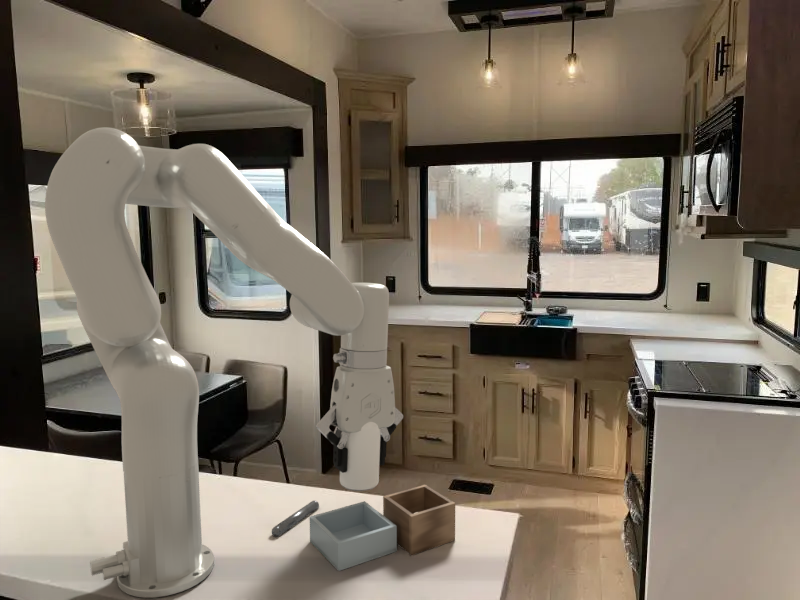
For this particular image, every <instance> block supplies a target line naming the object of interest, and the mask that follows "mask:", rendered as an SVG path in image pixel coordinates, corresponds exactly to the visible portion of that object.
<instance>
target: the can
mask: <svg viewBox="0 0 800 600" xmlns="http://www.w3.org/2000/svg"><path fill="white" fill-rule="evenodd" d="M369 418H372V417H369ZM380 434H381V429H379V428H378V425H377V424H376V423H374V422H368V423H366V424H365V425H364V426H363V427H362V428H361V431H359V432H355V433H349V437H348V439H347V442H346V444H345V448H347V449H348V460H347V471H346V472H344V473H342V472H341V471H339V484H340V485H341V487H342V488H344V489H346V490H348V491H352V492H364V491H365V492H366V491H371V490H373V489H374V488H376V487H377V485H378V484H379V481H380V479H379V478H380V476H379V475H380V465H379V461H380Z"/></svg>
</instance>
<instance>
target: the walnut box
mask: <svg viewBox="0 0 800 600" xmlns="http://www.w3.org/2000/svg"><path fill="white" fill-rule="evenodd" d="M382 500H383V501H382V502H383V503H382V509H383V511H382V512H383V513H382V515H383V516H385V517H386V518H387V519H388V520H390V521H391V522H392V523H394V524H395V525H396V526H397V545H398V546H399V547H400V548H402V549H403V550H404V551H405V552H406V553H408V555H410V556H415V555H417V554H421V553H423V552H427V551H429V550H432V549H434V548H437V547H441V546H442V545H443V546H444V545H446V544H448V543H452V542H454V541H456V502H455V501H453V500H451V499H449V497H448V498H447V497H446V496H445V495H443V494H441V493H440V492H438V491H436V490H435V489H433V488H432V487H430V486H428V485H427V484H422V485H419V486H415V487H412V488H409V489H408V488H407V489H405V490H401V491H397V492H393V493H389V494H386V495H383V496H382ZM416 512H418V513H416Z"/></svg>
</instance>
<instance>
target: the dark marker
mask: <svg viewBox="0 0 800 600" xmlns="http://www.w3.org/2000/svg"><path fill="white" fill-rule="evenodd" d="M319 507H320V503H319V502H318V501H317V500H312V501H310V502H308V503H307V504H306V505H304V506H303V507H301V508H300V509H298V510H297V511H296V512H294V513H293V514H291V515H289V516H288V517H287V518H285V519H284V520H282V521H281V522H280V523H278V524H276V525H274V526H273V528H271V536H273V537H274V538H276V537H280V536H282V535H283V534H284V533H286V532H287V531H288V530H290V529H291V528H293V527H294V526H296V525H298V523H299V522H301V521H303V520H304V519H306V518H307V517H308V516H310V515H311V514H313V513H314V512H316V511H317V510H318V509H319Z"/></svg>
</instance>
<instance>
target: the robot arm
mask: <svg viewBox="0 0 800 600" xmlns="http://www.w3.org/2000/svg"><path fill="white" fill-rule="evenodd" d="M44 200H45V201H44V210H45V211H44V212H45V213H44V214H45V220H46V225H47V228H48V232H49V235H50V239H51V241H52V243H53V245H54V248H55V250H56V253H57V256H58V258H59V259H60V262H61V264H62V267H63V269H64V272H65V275H66V277H67V279H68V281H69V283H70V286H71V288H72V290H73V292H74V294H75V297H76V312H77V315H78V318H79V320H80V322H81V325H82V326H83V328H84V331H85V333H86V335H87V337H88V338H89V341H90V343H91V345H92V348H93V350H94V352H95V354H96V356H97V358H98V360H99V362H100V364H101V366H102V368H103V370H104V371H105V374H106V376H107V378H108V379H109V380H108V381H110V384H111V386H112V387H113V389H114V391H115V392H116V395H117V396H118V398H119V402H120V409H121V410H120V412H121V458H122V472H123V483H124V485H123V486H124V500H125V501H124V502H125V503H124V504H125V518H126V519H125V520H126V532H127V533H126V535H127V536H126V537H127V541H124V542H123V543H122V549H121V550H118V551H115V554H113V555H109V556H104V557H100V558H96V559H91V560H90V561H89V567H90V574H91V577H93V576H97V575H100V574H102V579H103V581H106V580H109V579H113V578H115V577H116V581H117V586H118V588H119V589H120V590H121V591H122V592H123V593H125V594H127V595H129V596H134V597H136V598H149V599H150V598H162V597H166V596H171V595H172V596H173V595H175V594H179V593H181V592H184V591H187V590H189V589H191V588H193V587H194V586H196V585H199V583H202V582H203V580H205V579H207V577H208V576H209V575H210V574H211V573H212V571H213V570H214V566H215V555H214V552H213V551H212V549H211V548H210V547H209V546H207V545H205V544H203V538H202V517H201V516H202V515H201V492H200V491H201V490H200V473H199V472H200V471H199V456H198V455H199V454H198V451H199V450H198V415H199V403H200V386H199V381H198V378H197V374H196V372H195V370H194V368H193V366H192V364H190V362H189V361H188V360H187V359H186V358H185V357H184V356H183V355H182V354H180V353H179V352H177V351H176V350H174V349H173V348H172V346H171V344H170V342H169V340H168V337H167V335H166V332H165V330H164V329H163V326H162V324H161V319H162V305H161V302H160V299H159V296H158V293H156V290H155V289H154V287H153V285H152V283H151V280H150V279H149V277H148V275H147V272H146V270H145V268H144V266H143V263H142V261H141V260H140V257H139V255H138V253H137V251H136V248H135V246H134V242H133V239H132V237H131V235H130V232H129V228H128V226H127V223H126V217H125V214H126V212H125V209H126V205H135V206H145V207H154V208H156V207H157V208H170V209H171V208H172V209H173V208H174V209H189V210H190V212H192V213H193V214H194V216H195V217H197V218H198V220H199V221H201V223H202V224H203V225H205V227H207V229H209V231H210V232H211V233H212V234H214V235H215V237H216V238H218V239H219V241H220V242H221V243H222V244H223V245H224V246H225V247H226V248H227V250H229V251H230V253H232V255H233V256H234V257H236V258H237V259H238V260H239V261H240V262H242V263H243V264H244V265H245V266H247V267H248V268H250V269H252V270H253V271H255V272H257V273H260V274H261V275H263V276H265V277H267V278H269V279H271V280H272V281H274V282H276V283H277V284H278V285H279V286H281V287H283V289H285V290H286V291H287V292H289V293H290V299H289V308H290V311H291V315H292V317H293V318H294V319H295V320H296V321H297V322H298V323H300V324H301V325H303V326H304V327H306V328H309V329H314V330H316V331H319V332H323V333H326V334H329V335H331V336H340V348H339V352H338V353H334V354H333V357H332V359H333V362H334V363H338V364H339V366H337V367H336V369H335V373H334V377H333V382H332V388H331V395H330V405H329V406H330V407H329V410H328V411H327V412H326V413H325V415H323V417H322V418H321V419H320V420H319V421H318V422H317V423H316V425H315V427H316V429H317V430H318V431H319V432H320V433H321V434H322V435H323V436H324V437H325V438H326V439H327V440H328V441H329V442H330V443H331V444H332V445H333V449H332V451H333V452H332V453H333V455H332V456H333V458H332V464H333V465H334V467H335V469H337V470H338V471H339V472H340V471H341V472H342V473H344V472H346V471H347V460H348V449H347V448H345V444H346V442H347V439H348V437H349V433H355V432H359V431H361V428H362V427H363V426H364V425H365V424H366V423H368V422H374V423H376V424H377V425H378V428H379V429H381V434H380V461H379V466H384V465H385V463H386V457H387V442H388V441H390V439H391V435H392V434H393V432H394V431H395V430H396V429H397V426H398V425H399V424H400V423H401V421H402V420H403V419H404V414H403V413H402V412H401V411H400V409H398V408H397V407H396V400H395V385H394V378H393V373H392V367H391V366H389V365H387V364H388V363H387V362H388V361H387V360H388V339H389V338H388V335H389V332H388V331H389V311H390V309H389V308H390V292H389V289H388V287H387V286H386V285H384V284H382V283H374V282H351V281H350V280H349V278H348V277H347V276H346V275H345V273H344V272H343V271H342V270H341V269H340V268H339V267H338V266H337V264H336V263H335V262H333V261H332V260H331V258H329V256H327V255H326V254H325V253H324V252H323V251H321V250H320V248H318V247H317V246H316V245H314V244H313V243H312V242H310V240H308V239H307V238H306V237H305V236H303V235H302V234H301V233H300V232H299V231H298V230H297V229H295V228H294V227H292V225H290V224H289V223H287V222H286V221H285V220H284V219H283V218H282V217H281V216H280V215H279V214H278V213H277V212H276V211H275V209H274V208H272V206H271V205H270V204H269V203H268V202H267V201H266V200H265V198H263V196H262V195H261V194H260V193H259V192H258V191H257V189H255V187H254V186H253V185H252V184H251V182H249V180H247V179H246V177H245V176H244V175H243V174H242V173H241V172H240V171H239V169H238V168H237V166H235V165H234V164H233V163H232V162H231V160H229V158H228V157H227V156H226V155H225V154H224V153H223V152H222V151H220V150H219V149H217V148H216V147H214V146H212V145H211V144H210V145H209V144H206V143H192V144H189V145H185V146H183V147H181V148H178V149H175V148H174V149H173V148H161V147H153V146H145V145H139V144H138V142H137V141H136V140H135V139H134V138H133V137H132V136H131V135H130V134H127V133H126V132H124V131H123V130H120V129H118V128H114V127H108V126H107V127H106V126H105V127H104V126H103V127H96V128H93V129H90V130H88V131H86V132H84V133H82V134H80V136H78V137H77V138H76V139H75V140H74V141H73V142H72V143H71V144H70V145H69V147H67V148H66V149H65V151H64V152H63V153H62V154H61V156H60V157H59V159H58V160H57V162H56V163H55V165H54V167H53V169H52V171H51V173H50V176H49V179H48V182H47V186H46V191H45V199H44ZM369 417H372V418H369ZM330 426H333V427H335V429H334V431H332V430H331V429H330Z"/></svg>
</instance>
